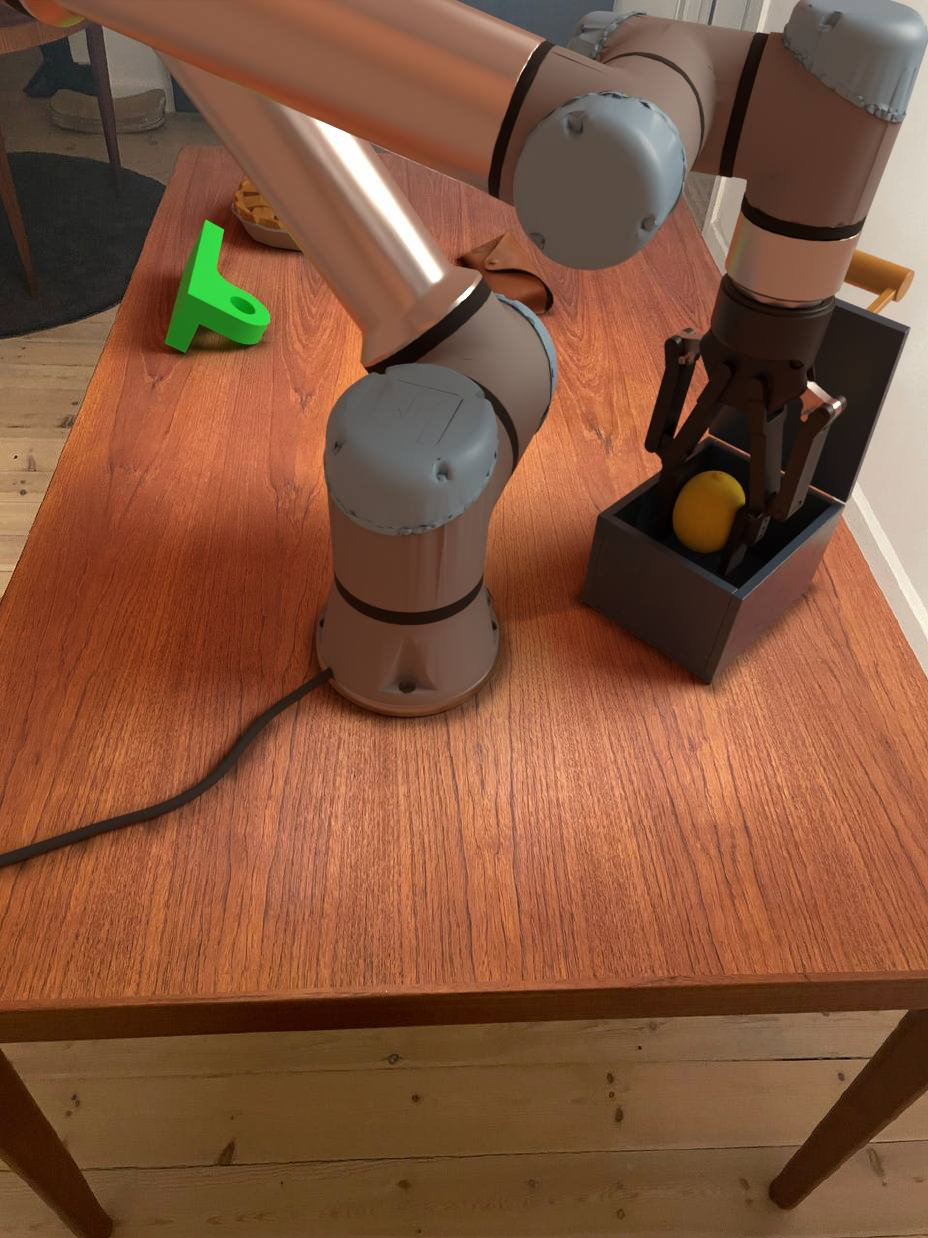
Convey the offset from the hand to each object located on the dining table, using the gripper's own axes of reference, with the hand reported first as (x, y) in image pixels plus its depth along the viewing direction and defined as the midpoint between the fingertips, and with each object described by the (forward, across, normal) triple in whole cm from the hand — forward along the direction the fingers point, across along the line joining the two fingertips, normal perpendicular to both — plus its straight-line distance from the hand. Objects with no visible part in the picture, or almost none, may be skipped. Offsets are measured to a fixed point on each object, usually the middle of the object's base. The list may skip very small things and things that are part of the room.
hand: (697, 547), depth 76 cm
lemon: (+1, 0, 0) cm, 1 cm away
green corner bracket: (+6, +67, +9) cm, 68 cm away
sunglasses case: (+8, +53, -36) cm, 64 cm away
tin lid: (-11, 0, -9) cm, 14 cm away
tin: (+7, 0, -3) cm, 8 cm away
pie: (+5, +84, -27) cm, 89 cm away
